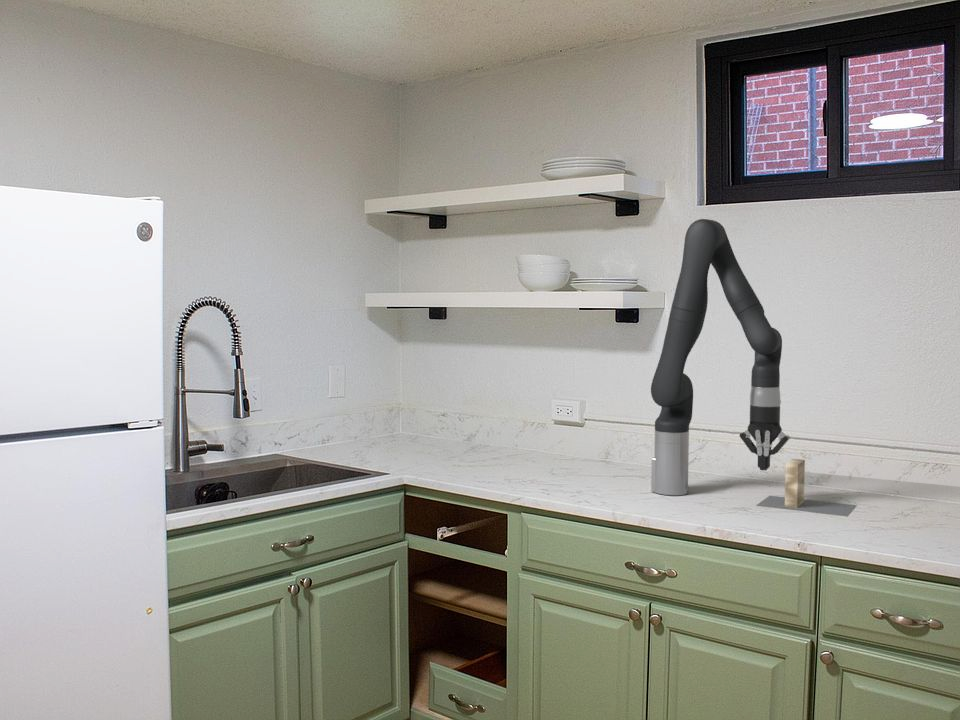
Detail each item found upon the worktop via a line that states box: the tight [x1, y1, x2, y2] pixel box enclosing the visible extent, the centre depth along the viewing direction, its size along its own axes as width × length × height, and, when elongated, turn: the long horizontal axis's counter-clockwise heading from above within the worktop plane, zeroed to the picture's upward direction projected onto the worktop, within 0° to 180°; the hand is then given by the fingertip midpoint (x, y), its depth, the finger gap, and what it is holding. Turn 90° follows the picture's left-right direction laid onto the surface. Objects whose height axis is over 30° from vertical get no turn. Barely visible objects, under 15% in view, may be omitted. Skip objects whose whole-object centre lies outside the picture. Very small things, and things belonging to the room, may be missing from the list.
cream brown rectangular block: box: [784, 458, 806, 508], centre depth 233 cm, size 3×8×11 cm, turn 149°
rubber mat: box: [755, 495, 858, 518], centre depth 232 cm, size 22×14×1 cm, turn 59°
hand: (763, 469), depth 237 cm, fingers closed
